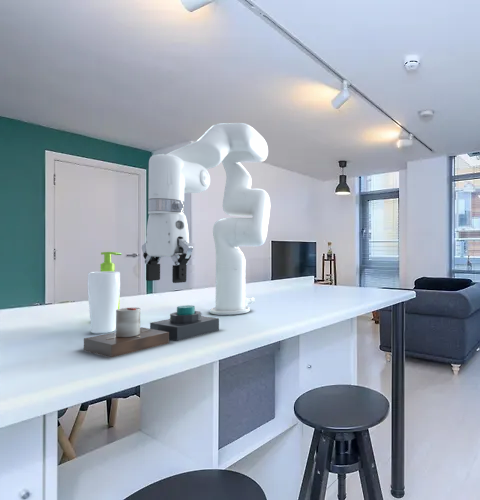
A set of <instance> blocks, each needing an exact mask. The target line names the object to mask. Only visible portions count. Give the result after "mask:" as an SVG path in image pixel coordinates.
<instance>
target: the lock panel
mask: <svg viewBox="0 0 480 500" xmlns="http://www.w3.org/2000/svg"><path fill="white" fill-rule="evenodd" d="M169 343H170V340H169V332H165V331H160V330H154V329H150V327H149V328H147V327H141V326H140V334H139V335H137V336H132V337H116V331H113V332H109V333H103V334H99V335H94V336H89V337H84V338H83V351H84V352H88V353H92V354H95V355H100V356H104V357H106V358H115V357H121V356H124V355H127V354H131V353H136V352H139V351H143V350H147V349H151V348H156V347H159V346H163V345H167V344H169Z"/></svg>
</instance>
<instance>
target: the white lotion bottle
mask: <svg viewBox="0 0 480 500" xmlns="http://www.w3.org/2000/svg"><path fill="white" fill-rule="evenodd" d="M86 281H87V283H86V285H87V298H88V299H87V300H88V308H89V309H88V311H89V320H90V332H91V333H92V334H96V335H97V334H99V335H102V334H109V333H114V332H116V310H117V309H118V304H119V295H120V293H121V271H106V272H101V271H90V272H89V271H88V272H87V280H86ZM120 296H121V295H120ZM119 305H120V304H119Z"/></svg>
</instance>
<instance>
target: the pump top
mask: <svg viewBox="0 0 480 500" xmlns="http://www.w3.org/2000/svg"><path fill="white" fill-rule="evenodd" d="M195 308H196V306H195V305H192V304H191V305H189V304H187V305H179V306H178V305H177V307H176V312H177V315H190V314H195V311H196V309H195Z"/></svg>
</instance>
